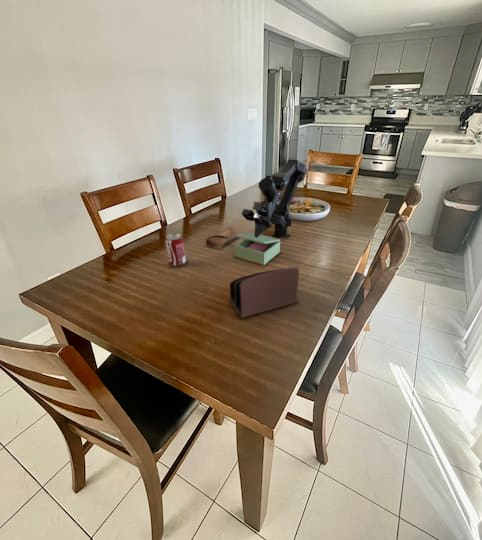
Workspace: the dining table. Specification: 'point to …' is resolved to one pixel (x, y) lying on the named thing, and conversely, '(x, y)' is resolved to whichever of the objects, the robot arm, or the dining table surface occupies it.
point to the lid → (257, 238)
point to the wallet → (258, 247)
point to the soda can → (175, 250)
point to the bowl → (307, 209)
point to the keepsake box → (256, 255)
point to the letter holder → (264, 291)
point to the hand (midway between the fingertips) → (255, 236)
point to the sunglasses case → (222, 238)
